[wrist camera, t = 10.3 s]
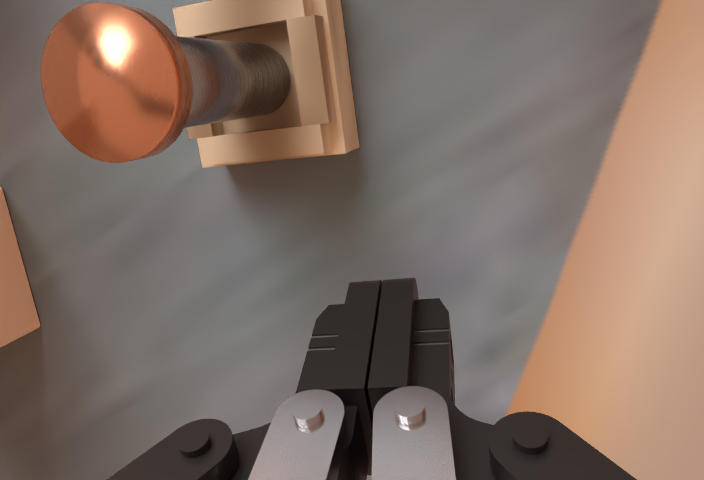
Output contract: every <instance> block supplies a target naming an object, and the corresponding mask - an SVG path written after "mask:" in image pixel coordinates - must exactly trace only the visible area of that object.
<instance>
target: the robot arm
mask: <svg viewBox="0 0 704 480" xmlns="http://www.w3.org/2000/svg"><path fill="white" fill-rule="evenodd" d="M367 475H372V479H371V480H636V479H635V478H634V477H632V476H631V475H630V474H628V473H627V472H626V471H624V470H623V469H622V468H620V467H619V466H617V465H616V464H615V463H614V462H612V461H611V460H610V459H608V458H607V457H606V456H604V455H603V454H602V453H600V452H599V451H598V450H596V449H595V448H594V447H592V446H591V445H590V444H588V443H587V442H586V441H584V440H583V439H582V438H580V437H579V436H578V435H576V434H575V433H574V432H572V431H571V430H570V429H568V428H567V427H566V426H564V425H563V424H562V423H560V422H559V421H557V420H556V419H554V418H552V417H550V416H548V415H545V414H541V413H536V412H518V413H514V414H510V415H507V416H505V417H504V418H502V419H500V420H499V421H498V422H497V423H496V424H495V425H491V424H487V423H483V422H480V421H476V420H474V419H472V418H469V417H468V416H466V415H464V414H463V413H462V412H461V411H459V410H458V409H457V407H456V406H455V384H454V359H453V349H452V340H451V330H450V321H449V312H448V310H447V309H446V308H445V306H444V305H443V303H442V302H441V301H440V299H439V298H438V299H421V300H419V299H418V291H417V284H416V279H415V278H407V279H392V280H383V282H382V280H378V281H363V282H350V284H349V287H348V292H347V296H346V301H345V304H339V305H329V306H328V307H327V308H326V309H325V310H324V311H323V312H322V314H321V315H320V316H319V317H318V318H317V319H316V322H315V326H314V330H313V333H312V338H311V340H310V344H309V351H307V355H306V358H305V362H304V365H303V369H302V373H301V376H300V380H299V383H298V387H297V391H296V394H294V395H293V396H291V397H289V398H288V399H286V400H285V401H284V402H283V403H282V404H281V405H280V406H279V407H278V409H277V410H276V412H275V414H274V416H273V419H272V421H271V423H269V424H266V425H264V426H261V427H259V428H255V429H252V430H248V431H245V432H241V433H238V434H234V435H232V432H231V430H230V428H229V426H228V425H227V424H225V423H224V422H222V421H219V420H216V419H201V420H196V421H193V422H190V423H188V424H186V425H184V426H182V427H180V428H179V429H177V430H176V431H174V432H173V433H172V434H170V435H169V436H167V437H166V438H165V439H163V440H162V441H160V442H159V443H158V444H156V445H155V446H153V447H152V448H151V449H149V450H148V451H146V452H145V453H144V454H142V455H141V456H139V457H138V458H137V459H135V460H134V461H132V462H131V463H130V464H128V465H127V466H125V467H124V468H123V469H121V470H120V471H118V472H117V473H116V474H114V475H113V476H111V477H110V478H109V479H107V480H366V479H367Z"/></svg>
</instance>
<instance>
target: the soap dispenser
mask: <svg viewBox="0 0 704 480" xmlns="http://www.w3.org/2000/svg"><path fill="white" fill-rule="evenodd" d="M39 327H40V322H39V318H38V315H37V311H36V308H35V304H34V300H33V297H32V293H31V290H30V286H29V282H28V279H27V275H26V272H25V268H24V264H23V261H22V257H21V254H20V250H19V247H18V243H17V239H16V236H15V232H14V229H13V225H12V221H11V218H10V214H9V211H8V207H7V203H6V200H5V196H4V193H3V189H2V187H0V348H1V347H3V346H5V345H6V344H8V343H10V342H12V341H14V340H16V339H18V338H20V337H22V336H24V335H26V334H28V333H30V332H32V331H33V330H35V329H37V328H39Z"/></svg>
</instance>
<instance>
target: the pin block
mask: <svg viewBox="0 0 704 480" xmlns="http://www.w3.org/2000/svg"><path fill="white" fill-rule="evenodd" d="M173 14H174V19H175V25H176V30H177V35H178V36H179V37H191V38H202V39H213V40H224V41H236V42H247V43H258V44H264V45H268V46H270V47H272V48H273V49H275V50H276V51H277V52H279V54H280V55H281V56H282V57H283V58H284V60H285V62H286V64H287V66H288V69H289V72H290V81H291V82H290V90H289V93H288V96H287V98H286V100H285V102H284V103H283V105H282V106H281V107H280V108H279V109H278V110H276V111H275V112H273V113H271V114H268V115H262V116H256V117H250V118H243V119H237V120H230V121H224V122H218V123H211V124H205V125H198V126H192V127H187V132H188V137H189V139H197V142H198V147H199V153H200V158H201V163H202V167H203V168H205V167H215V166H225V165H235V164H245V163H255V162H266V161H276V160H286V159H296V158H306V157H316V156H326V155H336V154H346V153H348V152H350V151H353V150H355V149H357V148H359V140H358V132H357V124H356V116H355V108H354V100H353V93H352V85H351V77H350V69H349V61H348V54H347V46H346V38H345V30H344V22H343V14H342V7H341V0H212V1H207V2H202V3H197V4H192V5H186V6H181V7H176V8H173Z"/></svg>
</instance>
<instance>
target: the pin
mask: <svg viewBox="0 0 704 480" xmlns="http://www.w3.org/2000/svg"><path fill="white" fill-rule="evenodd" d="M41 80H42V88H43V94H44V98H45V102H46V105H47V107H48V110H49V113H50V115H51V117H52V119H53V121H54V123H55V124H56V126H57V127H58V129H59V130H60V132H61V133H62V134H63V136H64V137H65V138H66V139H67V140H68V141H69V142H70V143H71V144H72V145H73V146H74V147H76V148H77V149H78V150H79V151H81V152H82V153H84V154H86V155H87V156H90V157H92V158H94V159H97V160H100V161H104V162H110V163H121V162H127V161H132V160H137V159H141V158H146V157H150V156H153V155H156V154H158V153H160V152H162V151H164V150H165V149H166V148H168V147H169V146H170V145H171V144H172V143H173V142H174V141H175V140H176V139H177V138H178V136H179V135H180V134H181V132H182V130H183V129H184V128H186V127H192V126H198V125H205V124H211V123H218V122H224V121H230V120H237V119H243V118H250V117H256V116H262V115H268V114H271V113H273V112H275V111H276V110H278V109H279V108H280V107H281V106H282V105H283V103H284V102H285V100H286V98H287V96H288V93H289V90H290V82H291V81H290V72H289V69H288V66H287V64H286V62H285V60H284V58H283V57H282V56H281V55H280V54H279V52H277V51H276V50H275V49H273V48H272V47H270V46H268V45H264V44H258V43H247V42H236V41H224V40H213V39H202V38H191V37H179V36H174V34H173V33H172V32H171V30H170V29H169V28H168V27H167V26H166V25H165V24H164V23H163V22H161V21H160V20H159V19H158V18H156V17H155V16H153V15H151V14H150V13H148V12H146V11H143V10H141V9H138V8H134V7H129V6H122V5H116V4H109V3H90V4H86V5H82V6H80V7H77V8H75V9H73V10H72V11H70V12H69V13H67V14H66V15H65V16H64V17H63V18H62V19H60V21H59V22H58V23H57V24H56V26H55V27H54V28H53V30H52V32H51V34H50V35H49V38H48V40H47V42H46V45H45V49H44V52H43V58H42V66H41Z"/></svg>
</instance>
